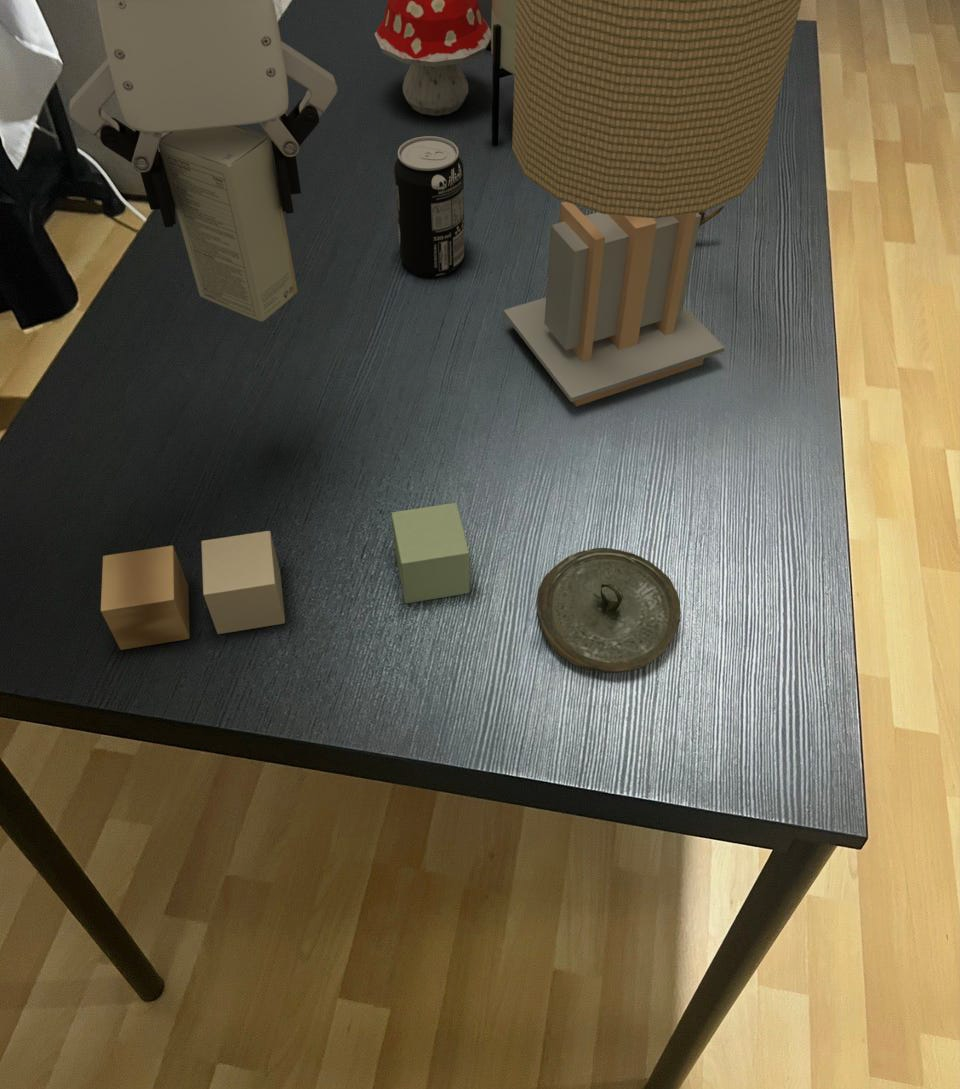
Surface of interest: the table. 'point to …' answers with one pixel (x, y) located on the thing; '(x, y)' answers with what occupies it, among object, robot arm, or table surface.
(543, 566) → the table surface
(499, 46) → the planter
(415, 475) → the table surface
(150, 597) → the block
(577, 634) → the lid
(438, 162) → the beverage can
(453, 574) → the block
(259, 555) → the block
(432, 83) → the decorative mushroom
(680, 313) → the desk lamp
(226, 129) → the cosmetic box
